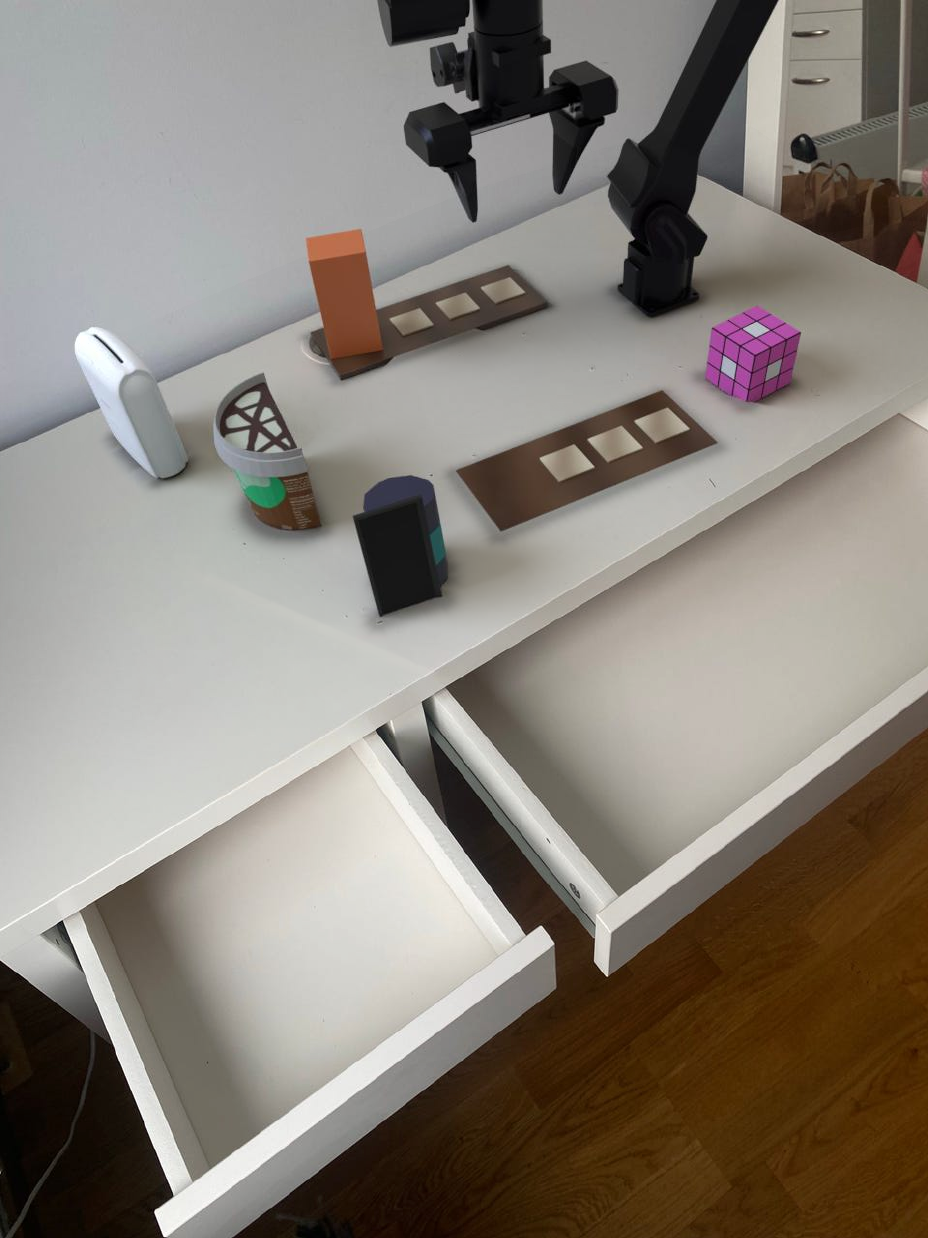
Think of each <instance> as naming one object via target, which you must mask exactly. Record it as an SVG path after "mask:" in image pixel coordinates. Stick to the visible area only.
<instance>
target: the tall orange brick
mask: <svg viewBox="0 0 928 1238" xmlns="http://www.w3.org/2000/svg"><path fill="white" fill-rule="evenodd" d="M363 235H364V234H363V230H362V229H361V228H357V229H352V230H346V231H345V230H344V231H340V232H335V233H328V234H327V233H326V234H321V235H315V236H310V237H306V238H305V242H306V250H307V251H306V252H307V259H308V265H309V270H310V274H311V278H312V282H313V287H314V292H315V296H316V299H317V304H318V308H319V309H318V310H319V314H320V318H321V322H322V326H323V327H322V328H324V331H325V336H326V340H327V344H328V349H329V353H330V357H331V359H335V358H341V357H347V356H353V355H358V354H364V353H370V352H376V351H381V350H383V346H382V341H381V335H380V329H379V323H378V318H377V312H376V310H377V307H376V301H375V296H374V289H373V283H372V278H371V273H370V267H369V262H368V256H367V249H366V246H365V240H364V236H363Z"/></svg>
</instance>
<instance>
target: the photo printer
mask: <svg viewBox="0 0 928 1238" xmlns="http://www.w3.org/2000/svg"><path fill="white" fill-rule="evenodd" d="M74 353H75V357H76V359H77V361H78V364H79V366H80V368H81V370H82V372H83V374H84V376H85V378H86V380H87V383H88V384H89V387H90V389H91V391H92V393H93V395H94V397H95V399H96V401H97V403H98V405H99V408H100V410H101V411H102V414H103V416H104V418H105V420H106V422H107V424H108V426H109V428H110V430H111V432H112V434H113V435H114V437H115V439H116V440H117V441H118V443H119V444H120V446H122V448H123V449H124V450H125V451H126V452H127V453H128V454H129V455H130V456H131V458H133V459H134V460H135V461H136V463H138V464H139V465H140V466H141V468H143V469H144V470H145V471H146V472H147V473H148V474H149V475H150V476H152V477H154V478H155V479H160V478H161V479H167V478H171V477H173V476H176V475H177V474H179V473H180V472H182V470H184V469H185V467H186V463H188V462H189V457H188V454H187V452H186V450H185V447H184V444H183V443H182V442H183V441H182V440H181V437H180V435H179V432H178V430H177V428H176V425H175V423H174V420H173V418H172V415H171V414H170V411H169V409H168V406H167V404H166V401H165V398H164V396H163V393H162V392H161V389H160V386H159V384H158V382H157V379H156V377H155V374H154V372H153V371H152V369H151V368H150V367H149V365H148V364H147V363H146V361H145V360H144V358H142V356H141V355H140V354H139V353H138V352H137V351H136V350H135V349H134V348H133V347H132V346H131V345H130V344H129V343H128V342H126V340H124V339H123V338H121V337H120V336H119V335H118V334H116V333H114V332H112V331H110V330H109V329H106V328H102V327H96V326H94V327H93V326H92V327H89V329H87V330H85V331H81V332H79V333H78V334H77V336H76V339H75V342H74Z"/></svg>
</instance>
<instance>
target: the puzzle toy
mask: <svg viewBox="0 0 928 1238" xmlns="http://www.w3.org/2000/svg"><path fill="white" fill-rule="evenodd" d="M801 336H802V332H801V331H800V330H799V329H797V328H795V327H793V326H792V325H791V324H789V323H787V322H786V321H784V320H782V319H781V318H779V317H777V316H776V315H774V314H772V313H770V312H769V311H767V310H766V309H764V308H762V307H761V306H759V305H755V306H753V307H751V308H749V309H747V310H745V311H743V312H741V313H739V314H737V315H735V316H732V317H730V318H728V319H727V320H724V321H723V322H720V323H719V324H717V325H714V326H712V327H711V331H710V338H709V345H708V354H707V360H706V368H705V375H704V378H705V380H707V381H709V382H710V383H712V384H713V385H715V386H716V387H718V388H719V389H720V390H722V391H723V392H724V393H726V394H727V395H729V396H730V397H732V398H737V399H740V400H742V401H744V402H745V403H749V402H752V403H756V402H757V401H759V400H761V399H763V398H765V397H766V396H768V395H770V394H772V393H774V392H776V391H778V390H780V389H782V388H783V387H785V386H787V385H790V383H791V381H792V377H793V371H794V367H795V363H796V359H797V354H798V349H799V345H800V340H801Z"/></svg>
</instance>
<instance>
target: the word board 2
mask: <svg viewBox="0 0 928 1238" xmlns="http://www.w3.org/2000/svg"><path fill="white" fill-rule="evenodd" d="M718 443H719V442H718V441H717V440H716V439H715V438H714V437H713V436H712V435H710V433H709V432H707V431H706V430H705V429H704V428H703V427H702V426H701V425H700V424H699V423H698V422H697V421H696V420H695V419H693V417H692V416H691V415H689V413H688V412H686V411H685V410H684V409H683V408H682V407H681V406H680V405H679V404H677V402H676V401H675V400H673V398H671V396H669V395H668V394H667V393H666V392H665V391H664V390H663V389H661V390H658V391H656V392H653V393H651V394H649V395H646V396H643V397H641V398H638V399H635V400H632V401H630V402H628V403H625V404H622V405H620V406H617V407H615V408H612V409H610V410H607V411H604V412H602V413H599V414H597V415H594V416H591V417H589V418H587V419H584V420H581V421H579V422H576V423H573V424H571V425H569V426H566V427H563V428H561V429H558V430H555V431H553V432H551V433H548V434H546V435H543V436H540V437H537V438H535V439H533V440H530V441H527V442H525V443H522V444H520V445H516V446H513V447H512V448H509V449H507V450H504V451H501V452H499V453H496V454H494V455H492V456H489V457H485V458H484V459H481V460H479V461H475V462H473V463H470V464H468V465H465V466H462V467H461V468H458V469H455V472H456V474H457V475H458V476H459V478H460V479H461V480H462V481H463V483H464V485H465V486H466V487H467V488H468V490H469V491H470V493H471V494H472V495H473V496H474V498H475V499H476V501H477V503H479V504H480V506H481V507H482V509H483V510H484V511H485V513H486V514H487V515H488V517H489V518H490V519H491V521H492V522H493V524H494V525H495V526H496V527H497V529H498V531H499V532H503V531H506V530H509V529H511V528H513V527H516V526H519V525H521V524H523V523H527V522H529V521H531V520H533V519H536V518H538V517H540V516H543V515H546V514H548V513H551V512H553V511H555V510H558V509H560V508H562V507H565V506H567V505H571V504H573V503H576V502H577V501H581V500H582V499H585V498H587V497H589V496H592V495H595V494H597V493H599V492H602V491H605V490H606V489H609V488H611V487H614V486H616V485H618V484H621V483H624V482H626V481H628V480H631V479H634V478H636V477H639V476H641V475H644V474H646V473H648V472H651V471H653V470H655V469H658V468H660V467H663V466H665V465H667V464H670V463H672V462H675V461H678V460H680V459H682V458H685V457H688V456H690V455H692V454H695V453H697V452H699V451H702V450H704V449H707V448H709V447H712V446H715V445H716V444H718Z"/></svg>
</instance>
